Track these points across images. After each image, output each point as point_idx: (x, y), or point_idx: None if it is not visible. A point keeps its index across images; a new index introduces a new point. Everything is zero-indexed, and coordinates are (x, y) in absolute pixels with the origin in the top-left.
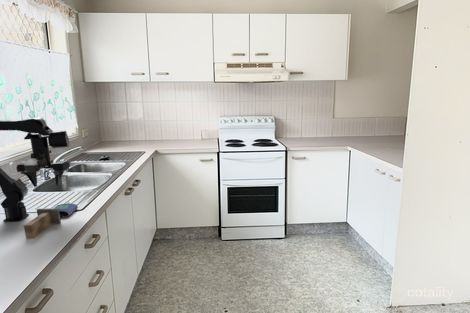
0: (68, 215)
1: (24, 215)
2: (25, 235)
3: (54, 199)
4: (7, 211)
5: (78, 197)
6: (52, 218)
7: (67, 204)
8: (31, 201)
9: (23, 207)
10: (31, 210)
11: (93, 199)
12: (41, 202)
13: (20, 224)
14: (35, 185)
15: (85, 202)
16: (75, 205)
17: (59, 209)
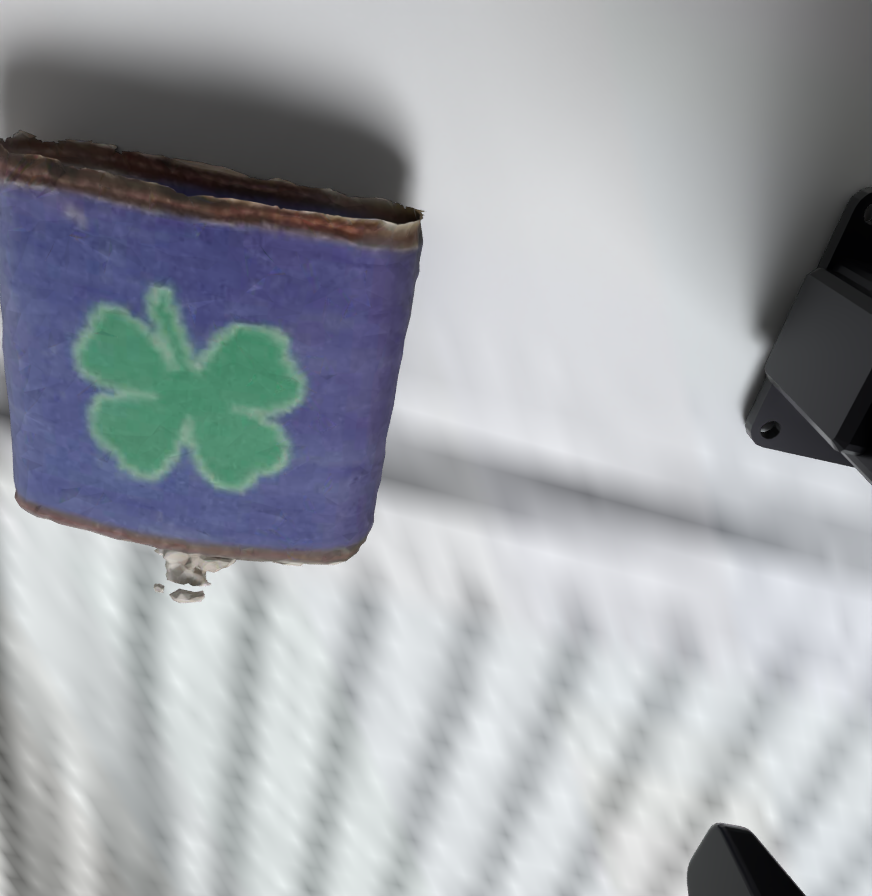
0: (11, 141)
1: (798, 317)
2: None
3: (532, 861)
4: None
5: (245, 851)
6: None
7: (143, 504)
8: (799, 869)
9: (863, 385)
10: (742, 597)
11: (2, 750)
12: (670, 815)
13: (806, 15)
14: (725, 875)
15: (63, 681)
16: (19, 474)
17: (171, 277)
